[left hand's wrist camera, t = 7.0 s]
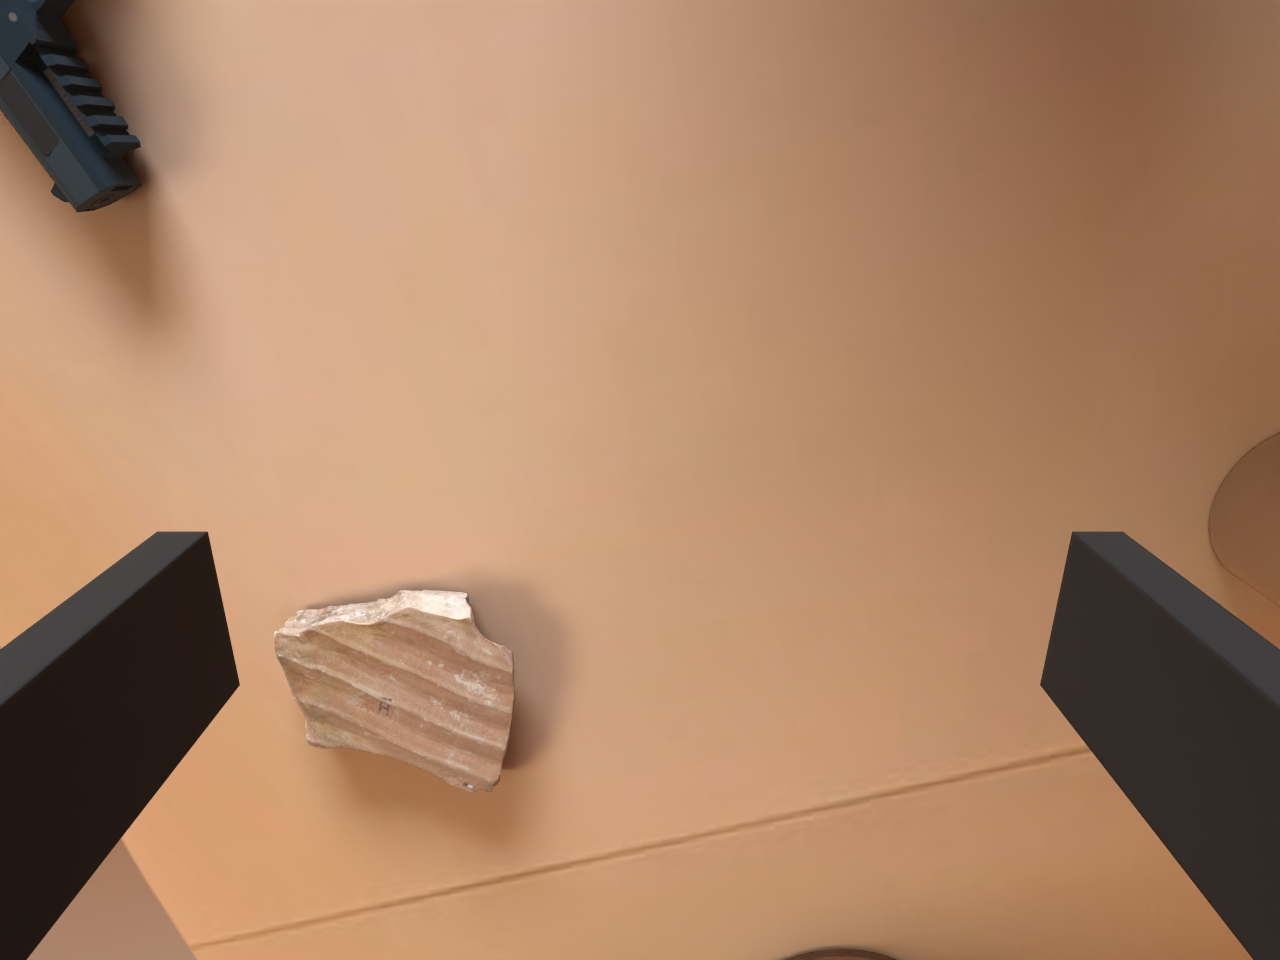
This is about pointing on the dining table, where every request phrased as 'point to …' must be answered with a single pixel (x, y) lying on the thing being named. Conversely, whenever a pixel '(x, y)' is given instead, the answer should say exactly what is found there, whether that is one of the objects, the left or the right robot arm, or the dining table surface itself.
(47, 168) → the handgun
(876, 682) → the dining table surface
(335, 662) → the stone
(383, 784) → the dining table surface
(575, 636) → the dining table surface
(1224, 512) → the jar
